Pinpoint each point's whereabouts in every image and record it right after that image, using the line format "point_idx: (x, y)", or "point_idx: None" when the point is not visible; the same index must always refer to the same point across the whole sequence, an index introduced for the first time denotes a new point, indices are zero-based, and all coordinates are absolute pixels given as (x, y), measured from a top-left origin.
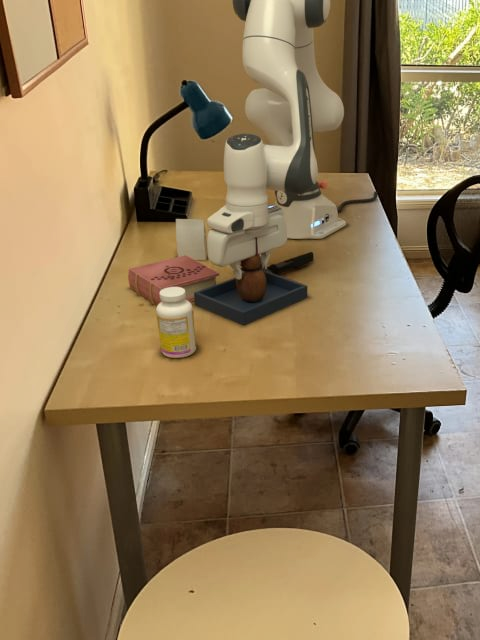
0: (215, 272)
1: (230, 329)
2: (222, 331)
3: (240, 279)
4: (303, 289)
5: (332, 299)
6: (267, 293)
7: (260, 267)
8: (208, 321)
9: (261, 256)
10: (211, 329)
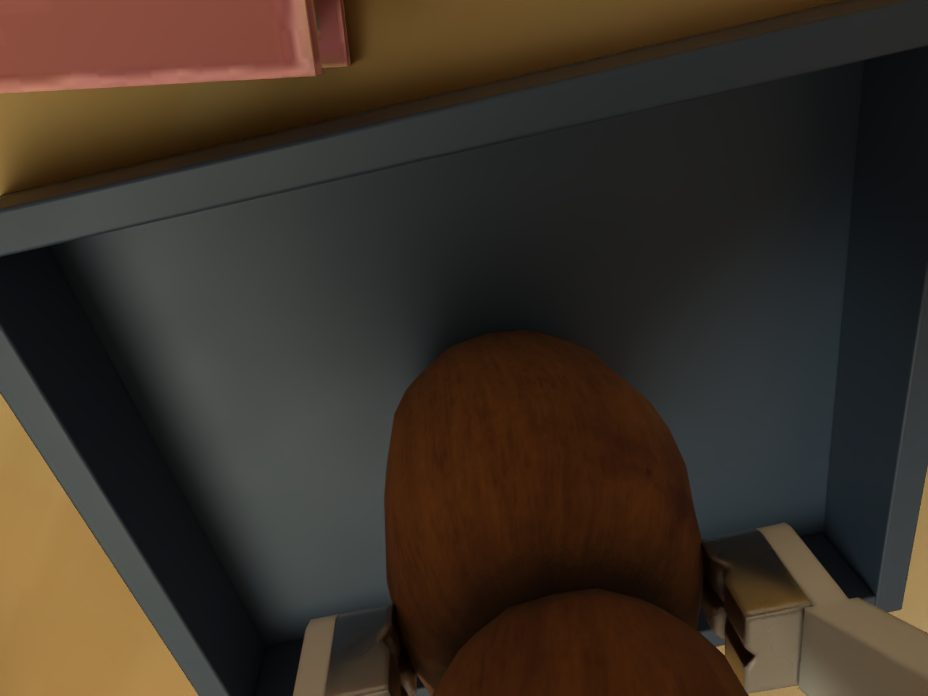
0: (264, 25)
1: (158, 654)
2: (101, 654)
3: (388, 585)
4: None
5: (912, 611)
6: (673, 374)
7: (723, 611)
8: (48, 515)
9: (895, 682)
10: (39, 611)
